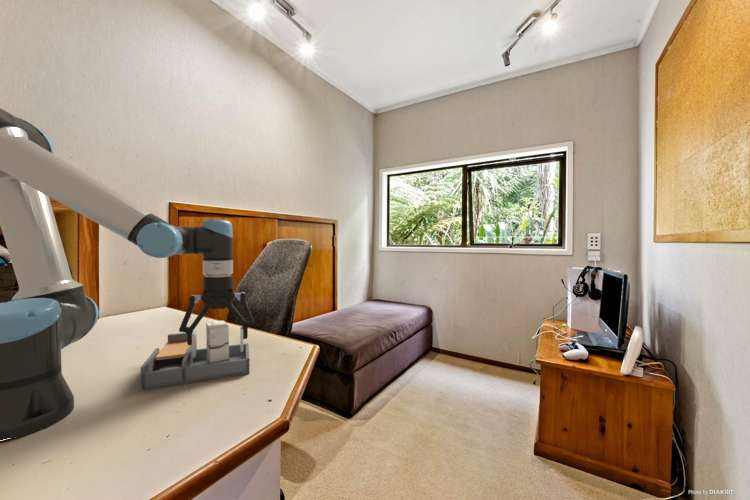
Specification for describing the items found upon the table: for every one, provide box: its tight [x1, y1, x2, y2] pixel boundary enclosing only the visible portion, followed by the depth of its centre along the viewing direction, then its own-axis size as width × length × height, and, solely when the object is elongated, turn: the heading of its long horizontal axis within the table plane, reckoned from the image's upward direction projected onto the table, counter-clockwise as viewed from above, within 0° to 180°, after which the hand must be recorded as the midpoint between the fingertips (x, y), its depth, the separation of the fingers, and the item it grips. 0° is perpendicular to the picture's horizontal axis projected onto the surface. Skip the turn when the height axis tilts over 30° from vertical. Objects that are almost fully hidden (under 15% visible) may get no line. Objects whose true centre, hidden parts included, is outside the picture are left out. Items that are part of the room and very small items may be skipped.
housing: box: [140, 342, 250, 391], centre depth 84 cm, size 24×14×6 cm, turn 113°
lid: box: [155, 332, 190, 360], centre depth 88 cm, size 7×13×3 cm, turn 23°
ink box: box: [205, 320, 230, 364], centre depth 85 cm, size 9×5×12 cm, turn 35°
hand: (218, 353), depth 86 cm, fingers open, 11 cm apart
